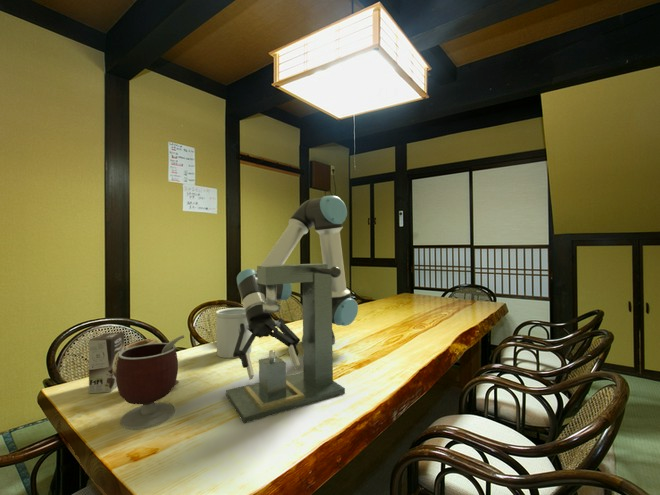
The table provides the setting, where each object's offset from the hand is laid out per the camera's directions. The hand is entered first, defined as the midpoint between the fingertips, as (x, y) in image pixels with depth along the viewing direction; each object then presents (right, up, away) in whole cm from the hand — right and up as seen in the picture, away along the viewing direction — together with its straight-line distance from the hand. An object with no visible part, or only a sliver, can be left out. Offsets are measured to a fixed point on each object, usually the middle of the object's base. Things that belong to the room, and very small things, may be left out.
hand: (275, 372), depth 90 cm
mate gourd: (-31, -9, -7) cm, 33 cm away
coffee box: (-55, -9, +11) cm, 57 cm away
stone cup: (-41, -9, +9) cm, 43 cm away
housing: (-1, -7, +2) cm, 7 cm away
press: (+4, -8, +1) cm, 9 cm away
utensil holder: (-24, -9, +43) cm, 50 cm away
